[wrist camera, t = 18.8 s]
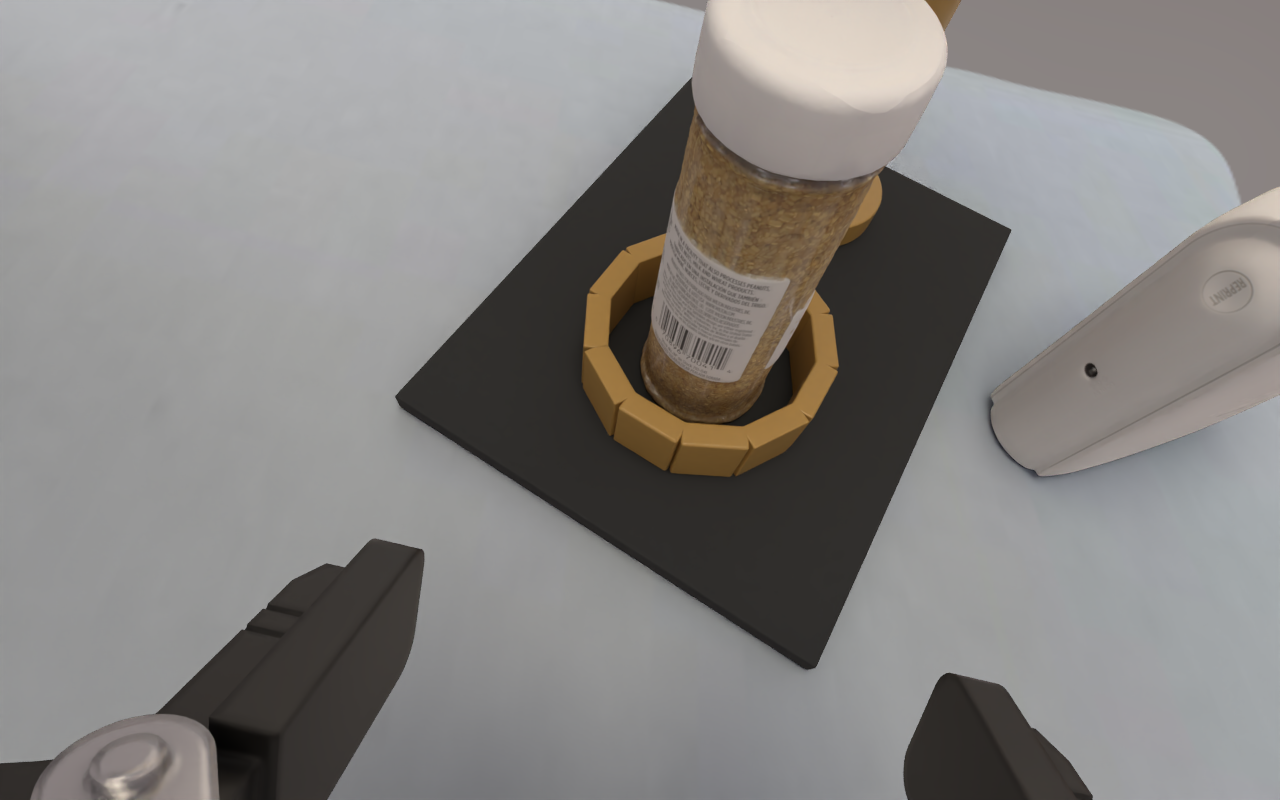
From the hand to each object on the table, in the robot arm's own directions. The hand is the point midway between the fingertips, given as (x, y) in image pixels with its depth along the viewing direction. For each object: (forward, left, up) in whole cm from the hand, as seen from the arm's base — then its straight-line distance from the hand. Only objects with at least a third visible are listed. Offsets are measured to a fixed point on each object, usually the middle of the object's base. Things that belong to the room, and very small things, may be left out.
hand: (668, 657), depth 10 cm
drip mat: (-3, +14, -11) cm, 18 cm away
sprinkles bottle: (-3, +10, -10) cm, 15 cm away
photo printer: (+11, +19, -11) cm, 24 cm away
